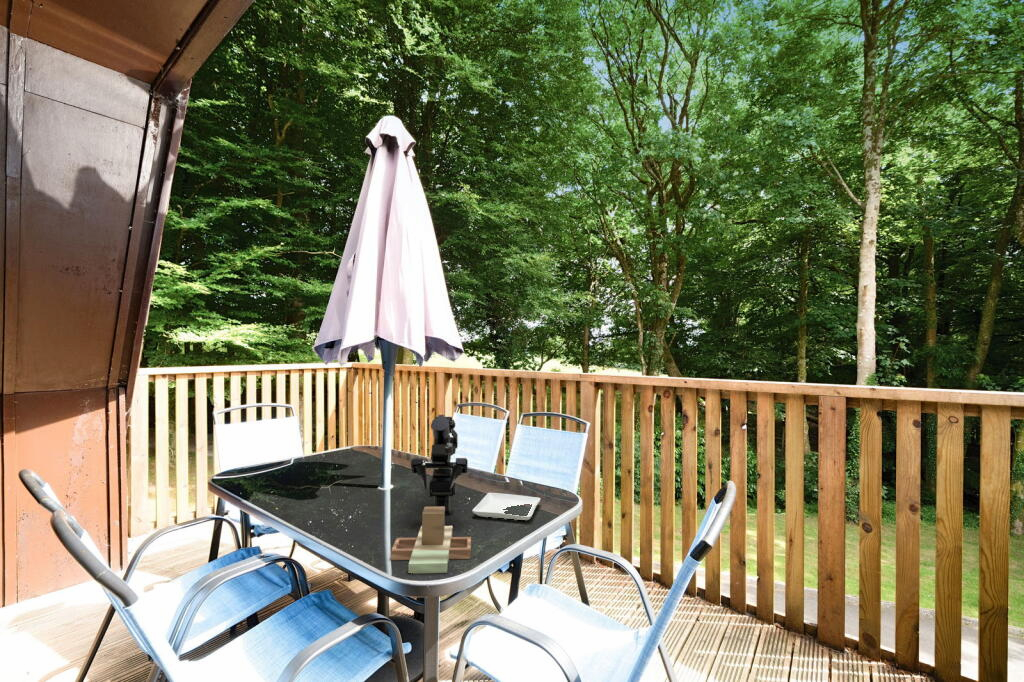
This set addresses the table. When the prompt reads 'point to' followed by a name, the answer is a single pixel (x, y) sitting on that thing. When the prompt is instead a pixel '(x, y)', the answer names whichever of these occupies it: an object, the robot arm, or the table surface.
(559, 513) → the table surface
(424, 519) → the walnut block
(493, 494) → the salad plate
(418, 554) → the track
